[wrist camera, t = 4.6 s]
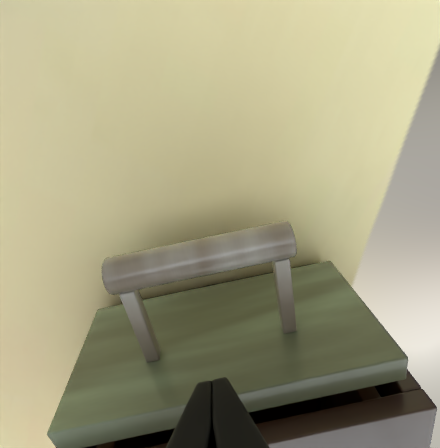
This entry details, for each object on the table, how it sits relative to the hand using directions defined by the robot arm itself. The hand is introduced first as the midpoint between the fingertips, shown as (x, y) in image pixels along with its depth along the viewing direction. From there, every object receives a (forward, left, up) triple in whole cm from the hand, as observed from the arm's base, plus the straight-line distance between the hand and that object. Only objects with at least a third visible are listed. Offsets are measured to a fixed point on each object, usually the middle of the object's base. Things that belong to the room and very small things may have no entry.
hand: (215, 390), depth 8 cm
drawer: (0, -8, -8) cm, 12 cm away
